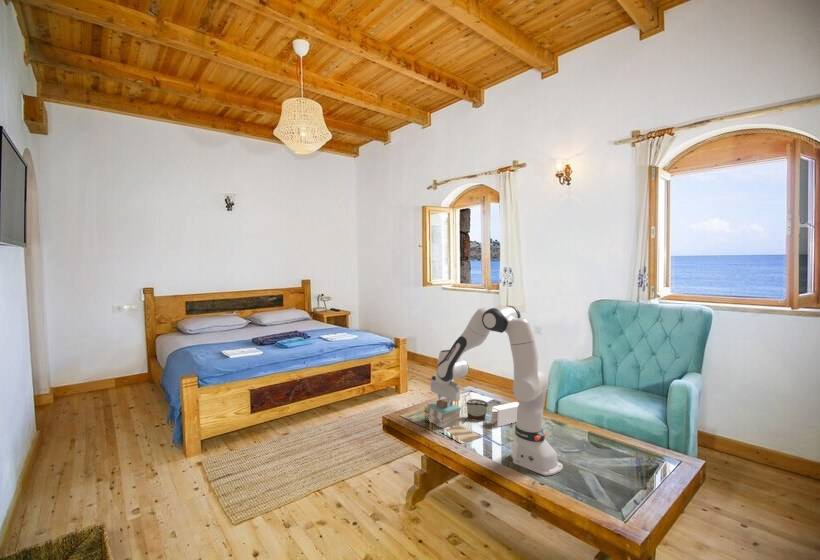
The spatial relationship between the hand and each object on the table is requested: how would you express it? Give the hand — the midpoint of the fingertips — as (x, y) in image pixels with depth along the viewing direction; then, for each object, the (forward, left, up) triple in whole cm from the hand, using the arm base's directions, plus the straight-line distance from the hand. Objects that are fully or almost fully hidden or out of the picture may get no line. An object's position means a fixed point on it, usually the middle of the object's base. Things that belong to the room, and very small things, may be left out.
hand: (444, 404), depth 216 cm
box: (0, 0, -10) cm, 10 cm away
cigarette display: (-18, -30, -10) cm, 37 cm away
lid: (0, 0, -3) cm, 3 cm away
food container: (-5, -20, -10) cm, 23 cm away
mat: (-16, +3, -10) cm, 19 cm away
